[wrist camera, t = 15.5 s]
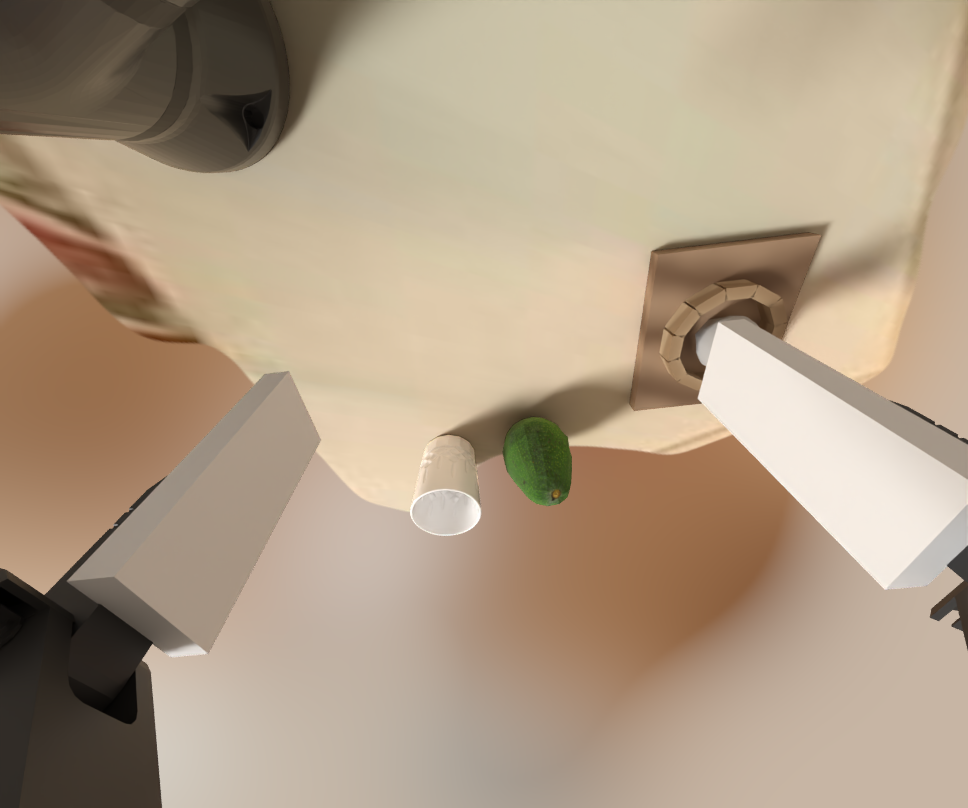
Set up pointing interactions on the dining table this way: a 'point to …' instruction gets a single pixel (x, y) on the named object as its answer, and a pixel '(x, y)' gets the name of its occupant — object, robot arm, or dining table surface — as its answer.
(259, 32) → the robot arm
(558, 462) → the avocado
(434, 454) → the white cup
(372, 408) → the dining table surface
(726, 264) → the cruet board
